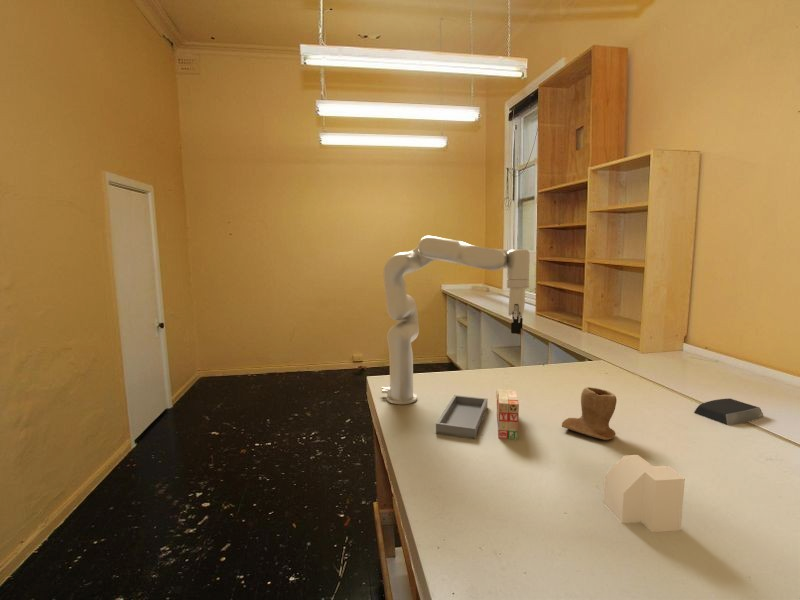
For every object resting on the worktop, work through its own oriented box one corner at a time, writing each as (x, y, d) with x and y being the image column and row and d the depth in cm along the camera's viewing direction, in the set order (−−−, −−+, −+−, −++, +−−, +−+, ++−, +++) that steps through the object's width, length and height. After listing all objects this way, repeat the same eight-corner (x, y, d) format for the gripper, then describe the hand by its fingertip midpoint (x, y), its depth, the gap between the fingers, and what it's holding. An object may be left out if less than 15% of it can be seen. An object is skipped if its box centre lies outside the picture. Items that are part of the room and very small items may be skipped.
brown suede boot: (621, 433, 136) (623, 389, 134) (608, 446, 128) (610, 399, 126) (575, 420, 147) (576, 379, 145) (560, 431, 139) (562, 388, 137)
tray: (435, 433, 138) (435, 423, 138) (454, 403, 164) (454, 395, 164) (474, 439, 134) (474, 428, 133) (487, 407, 160) (487, 398, 159)
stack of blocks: (496, 412, 155) (496, 381, 153) (513, 413, 154) (514, 382, 152) (498, 438, 134) (498, 402, 133) (518, 440, 133) (519, 403, 131)
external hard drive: (766, 419, 147) (767, 407, 147) (729, 427, 141) (730, 416, 140) (726, 405, 159) (727, 395, 159) (691, 413, 153) (692, 402, 152)
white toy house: (680, 530, 90) (684, 478, 89) (631, 533, 89) (634, 481, 88) (647, 500, 101) (651, 454, 99) (603, 503, 100) (605, 456, 98)
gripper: (509, 281, 158) (508, 325, 160) (504, 286, 141) (503, 335, 144) (530, 282, 155) (528, 326, 157) (527, 286, 139) (526, 336, 141)
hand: (516, 330), depth 150 cm, fingers open, 9 cm apart
